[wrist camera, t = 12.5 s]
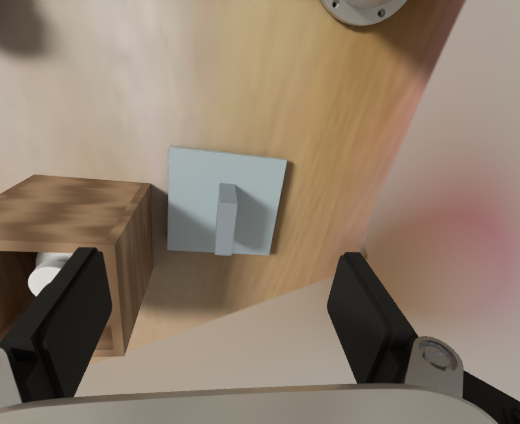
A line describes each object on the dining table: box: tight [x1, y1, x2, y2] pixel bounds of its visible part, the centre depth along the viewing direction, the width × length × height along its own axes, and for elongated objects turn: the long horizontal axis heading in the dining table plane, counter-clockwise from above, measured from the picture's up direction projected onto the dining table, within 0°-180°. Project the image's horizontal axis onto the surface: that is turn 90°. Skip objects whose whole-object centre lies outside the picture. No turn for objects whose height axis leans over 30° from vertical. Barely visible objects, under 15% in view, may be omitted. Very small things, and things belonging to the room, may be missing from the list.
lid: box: [167, 146, 287, 256], centre depth 38 cm, size 15×15×9 cm
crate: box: [0, 175, 153, 357], centre depth 34 cm, size 14×14×16 cm
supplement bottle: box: [28, 252, 73, 296], centre depth 35 cm, size 7×7×13 cm
